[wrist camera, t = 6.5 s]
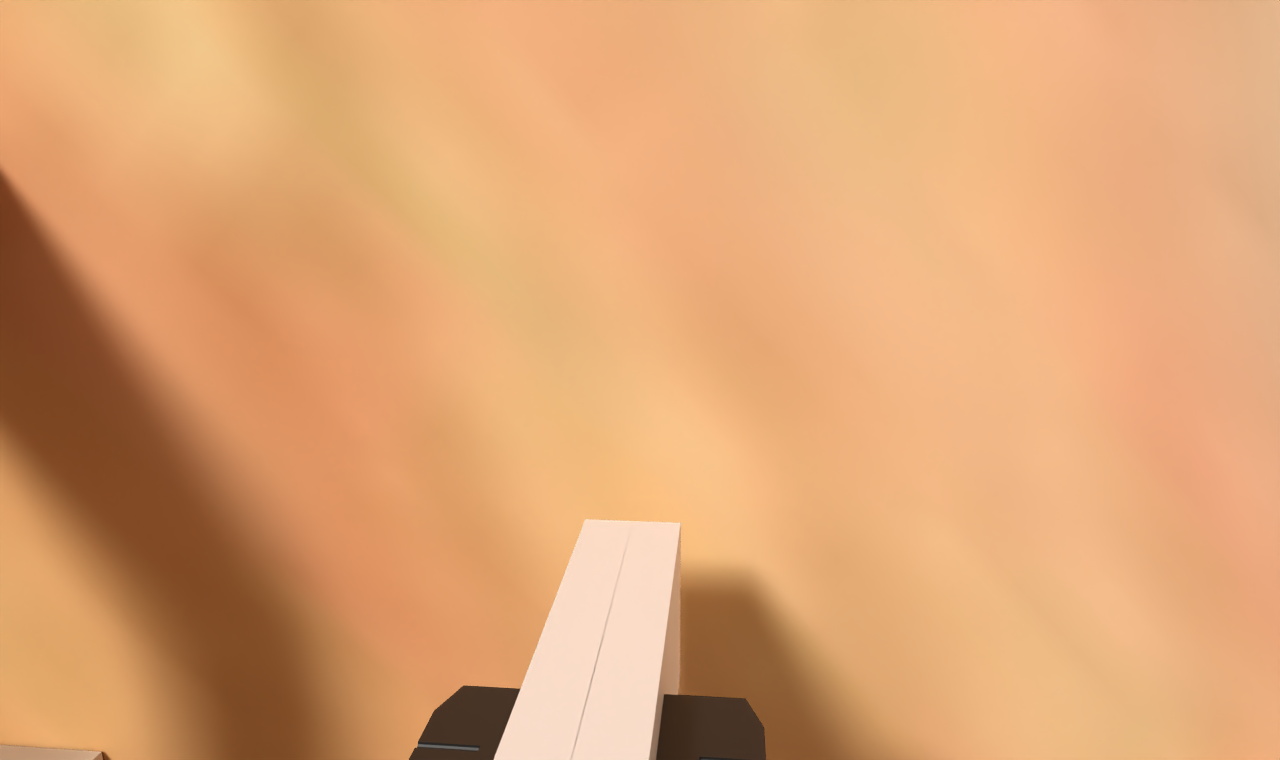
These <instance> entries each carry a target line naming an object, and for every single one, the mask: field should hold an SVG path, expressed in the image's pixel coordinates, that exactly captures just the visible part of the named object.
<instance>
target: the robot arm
mask: <svg viewBox="0 0 1280 760" xmlns="http://www.w3.org/2000/svg"><path fill="white" fill-rule="evenodd" d="M680 548H681V523H672V522H644V521H616V520H589V519H585V522H584V524H583V527H582V530H581V532H580V535H579V537H578V540H577V543H576V545H575V548H574V550H573V553H572V556H571V558H570V561H569V564H568V566H567V569H566V571H565V574H564V577H563V579H562V582H561V584H560V587H559V590H558V592H557V595H556V598H555V600H554V603H553V605H552V608H551V611H550V613H549V616H548V618H547V621H546V624H545V626H544V629H543V632H542V634H541V637H540V639H539V642H538V645H537V647H536V650H535V652H534V655H533V658H532V660H531V663H530V666H529V668H528V671H527V673H526V676H525V679H524V681H523V684H522V686H521V689H514V688H497V687H479V686H463V687H461V688H460V689H459V690H458V691H457V692H456V693H454V694H453V695H452V696H451V697H450V698H449V699H447V700H446V701H445V702H444V703H443V704H442V705H440V706H439V707H438V708H437V709H436V710H435V711H434V712H433V714H432V716H431V718H430V720H429V722H428V724H427V726H426V728H425V729H424V731H423V733H422V735H421V737H420V739H419V741H418V747H417V748H415V749H414V751H413V753H412V755H411V756H410V758H409V760H766V755H765V736H764V727H763V725H762V724H761V722H760V721H759V719H758V717H757V716H756V714H755V713H754V711H753V710H752V708H751V707H750V705H749V704H748V702H747V700H746V699H743V698H725V697H708V696H690V695H678V690H679V680H680Z"/></svg>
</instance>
